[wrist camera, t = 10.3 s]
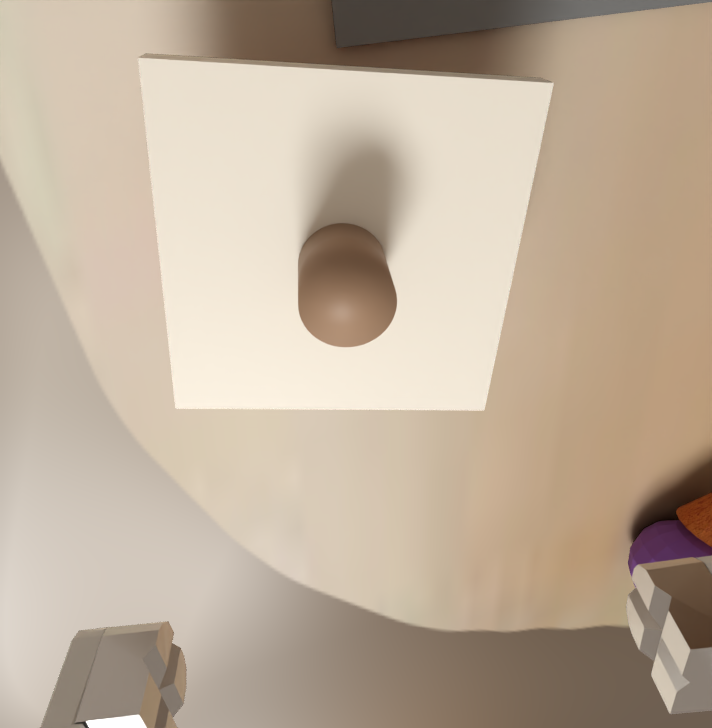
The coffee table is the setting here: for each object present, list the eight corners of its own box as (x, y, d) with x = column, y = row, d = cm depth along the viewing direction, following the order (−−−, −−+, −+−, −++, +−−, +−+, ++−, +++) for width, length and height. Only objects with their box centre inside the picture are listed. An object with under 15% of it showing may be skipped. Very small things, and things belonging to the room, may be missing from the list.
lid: (541, 78, 21) (593, 100, 17) (477, 394, 28) (505, 459, 24) (145, 53, 20) (110, 71, 16) (180, 391, 27) (160, 460, 23)
